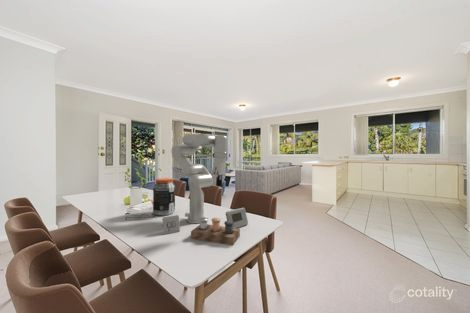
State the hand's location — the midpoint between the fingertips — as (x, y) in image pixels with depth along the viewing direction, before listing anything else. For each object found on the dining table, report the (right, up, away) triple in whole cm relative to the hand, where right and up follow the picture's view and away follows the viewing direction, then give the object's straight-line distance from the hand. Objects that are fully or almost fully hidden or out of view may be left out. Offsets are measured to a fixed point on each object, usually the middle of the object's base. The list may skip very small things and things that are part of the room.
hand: (219, 185), depth 118 cm
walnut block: (-1, -27, -11) cm, 29 cm away
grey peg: (-8, -26, -9) cm, 29 cm away
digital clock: (+11, -27, +5) cm, 30 cm away
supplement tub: (-44, -26, +30) cm, 59 cm away
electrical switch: (-28, -26, -4) cm, 39 cm away
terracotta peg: (-1, -26, -11) cm, 28 cm away
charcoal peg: (+6, -27, -13) cm, 30 cm away
